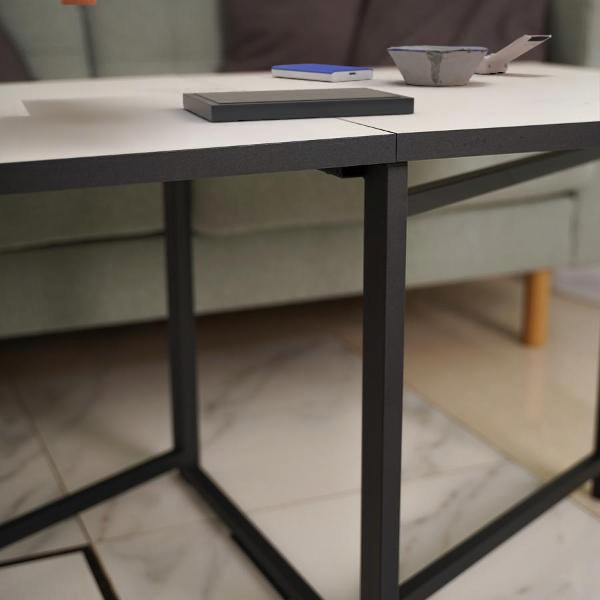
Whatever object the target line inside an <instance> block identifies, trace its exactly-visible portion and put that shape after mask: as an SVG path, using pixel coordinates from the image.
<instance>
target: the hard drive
mask: <svg viewBox="0 0 600 600" xmlns="http://www.w3.org/2000/svg"><path fill="white" fill-rule="evenodd" d="M271 76H272V77H276V78H285V79H296V80H297V79H298V80H309V81H319V82H330V83H338V82H350V81H363V80H364V81H365V80H372V79H373V78H374V69H373V68H371V67H360V66H359V67H357V66H346V65H334V64H333V65H332V64H321V63H298V64H297V63H295V64H280V65H273V66H271Z"/></svg>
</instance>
